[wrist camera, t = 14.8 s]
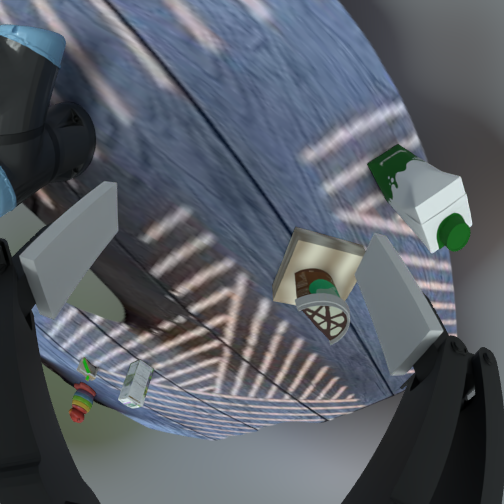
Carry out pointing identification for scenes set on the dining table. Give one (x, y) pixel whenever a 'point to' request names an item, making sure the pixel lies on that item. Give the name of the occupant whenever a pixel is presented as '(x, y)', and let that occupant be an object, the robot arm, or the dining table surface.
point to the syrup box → (136, 384)
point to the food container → (322, 303)
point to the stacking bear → (81, 402)
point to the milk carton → (424, 198)
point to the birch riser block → (317, 263)
